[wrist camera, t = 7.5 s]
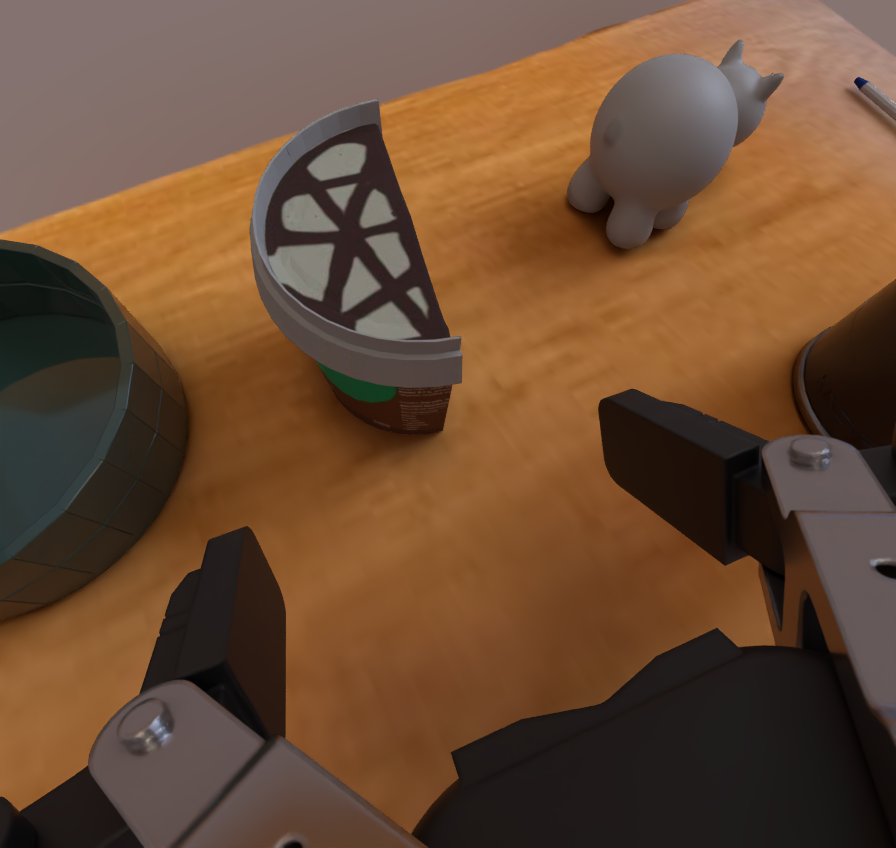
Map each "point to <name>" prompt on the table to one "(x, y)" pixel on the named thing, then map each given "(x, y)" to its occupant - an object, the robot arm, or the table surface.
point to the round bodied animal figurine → (666, 139)
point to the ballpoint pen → (876, 97)
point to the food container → (353, 273)
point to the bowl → (76, 428)
